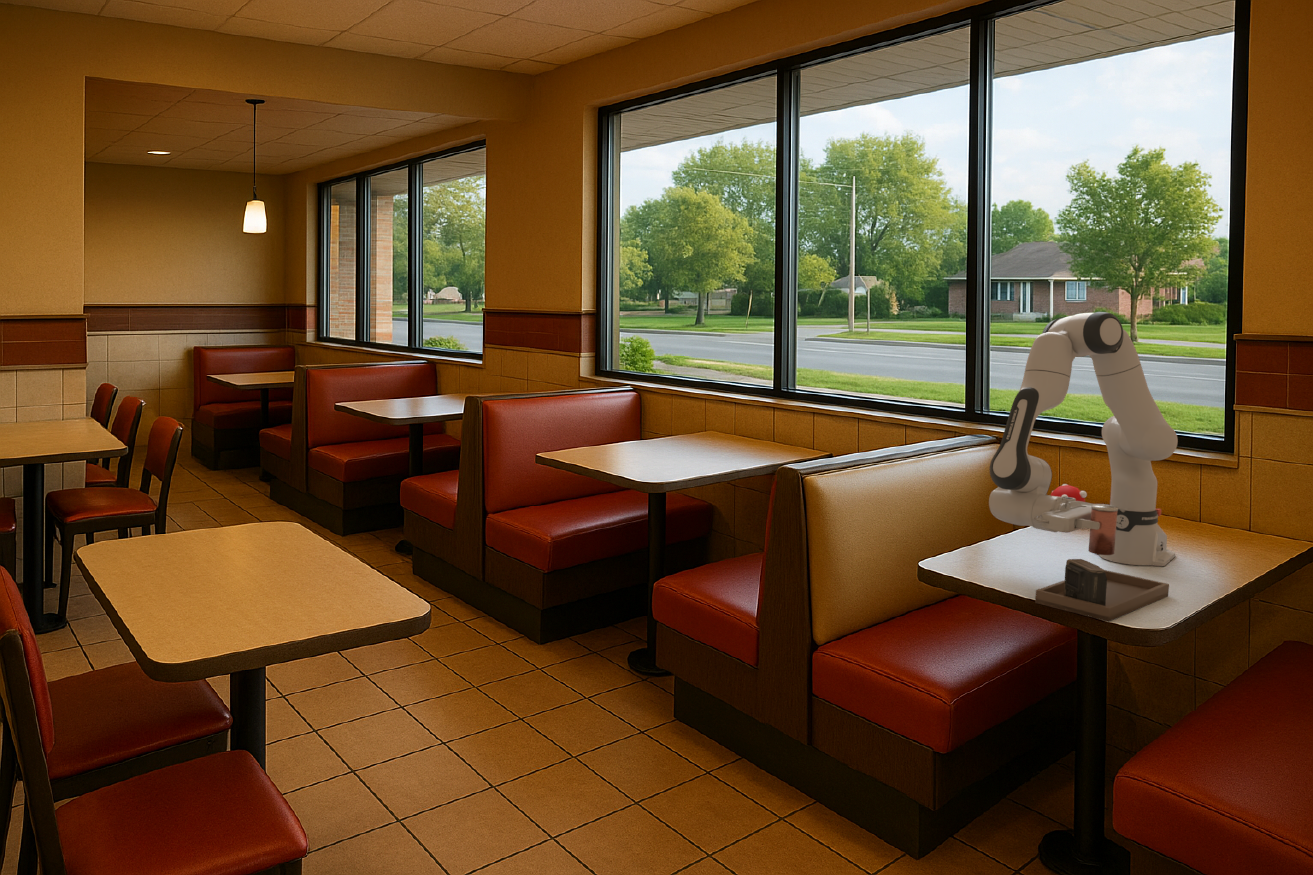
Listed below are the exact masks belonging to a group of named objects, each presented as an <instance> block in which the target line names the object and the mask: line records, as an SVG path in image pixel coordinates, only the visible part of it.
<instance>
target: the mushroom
mask: <svg viewBox="0 0 1313 875" xmlns="http://www.w3.org/2000/svg"><path fill="white" fill-rule="evenodd" d="M1049 495H1050V496H1058V497H1072V498H1075V499H1076V501H1082V502H1086V499H1085V498H1086V497H1087V496H1088V493H1087V492H1086V491H1085V490H1080V488H1078V487H1077V486H1072V485H1070V484H1067V483H1063V484H1062V485H1060V486H1058V487H1056V488H1055V489H1054V490H1051V493H1050V494H1049Z"/></svg>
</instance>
